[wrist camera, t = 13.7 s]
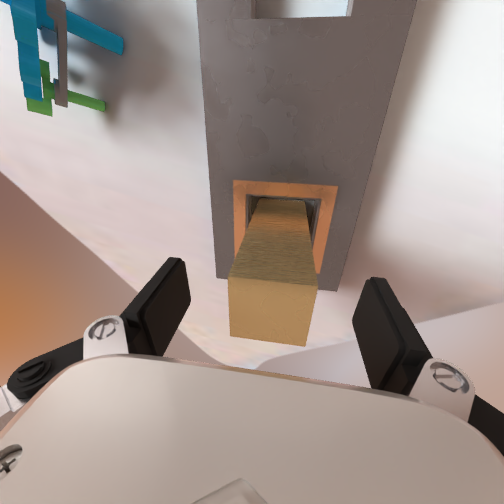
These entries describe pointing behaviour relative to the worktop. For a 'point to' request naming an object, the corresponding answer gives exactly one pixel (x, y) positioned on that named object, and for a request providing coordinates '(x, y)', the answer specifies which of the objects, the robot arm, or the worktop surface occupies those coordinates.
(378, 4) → the rail plate
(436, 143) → the worktop surface
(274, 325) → the peg
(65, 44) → the gear
